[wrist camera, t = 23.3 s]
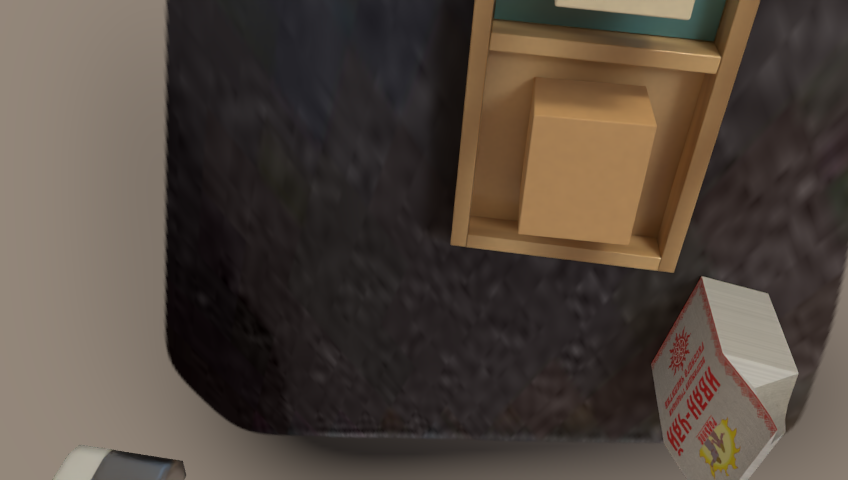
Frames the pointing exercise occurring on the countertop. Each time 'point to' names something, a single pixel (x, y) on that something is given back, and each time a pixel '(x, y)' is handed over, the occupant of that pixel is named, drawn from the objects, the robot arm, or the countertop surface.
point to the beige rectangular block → (635, 7)
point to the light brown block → (585, 160)
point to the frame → (607, 63)
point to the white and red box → (723, 382)
